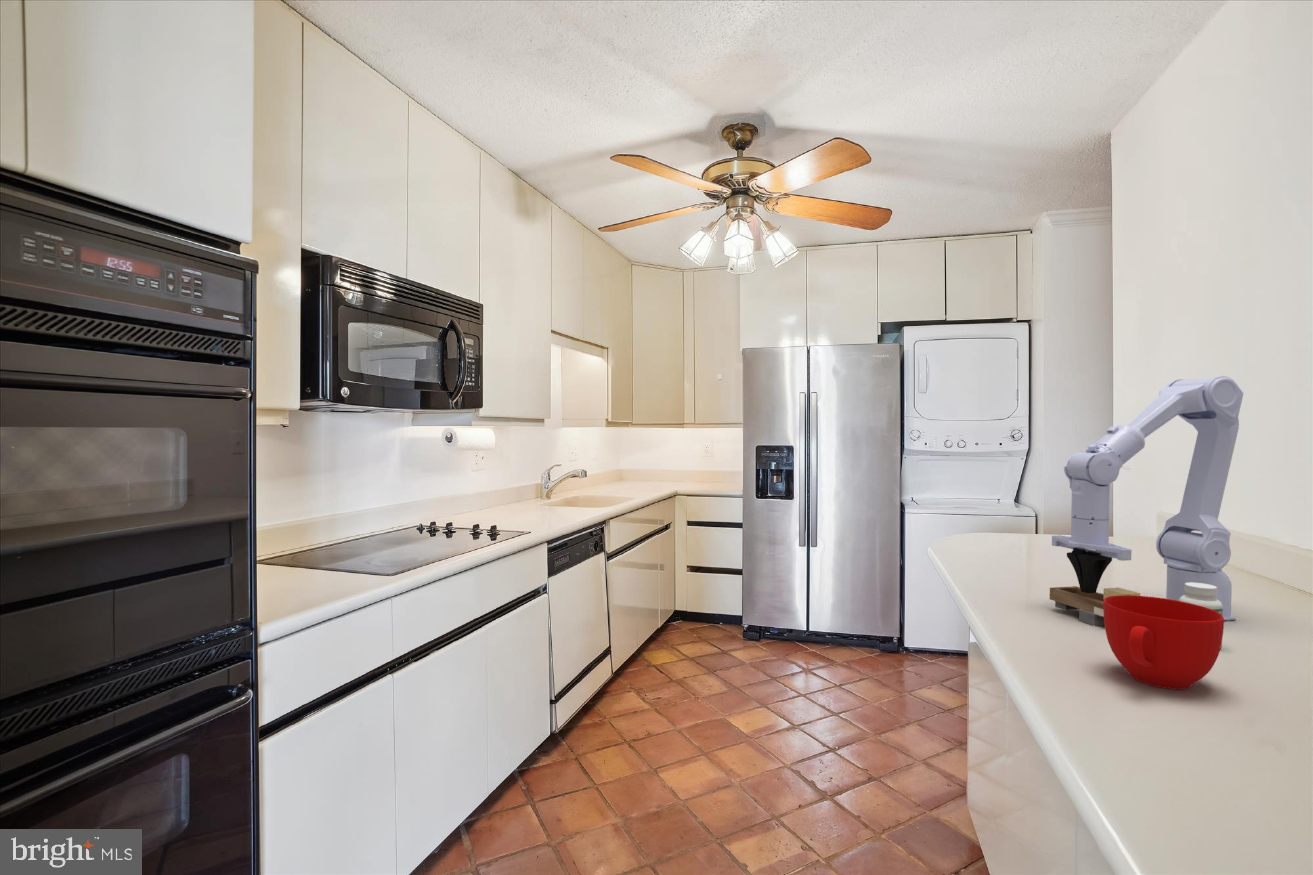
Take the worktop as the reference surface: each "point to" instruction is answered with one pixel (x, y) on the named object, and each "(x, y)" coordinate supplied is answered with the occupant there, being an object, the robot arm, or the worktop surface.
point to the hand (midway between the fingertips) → (1088, 592)
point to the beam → (1080, 603)
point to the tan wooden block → (1118, 592)
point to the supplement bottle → (1202, 596)
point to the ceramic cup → (1163, 639)
